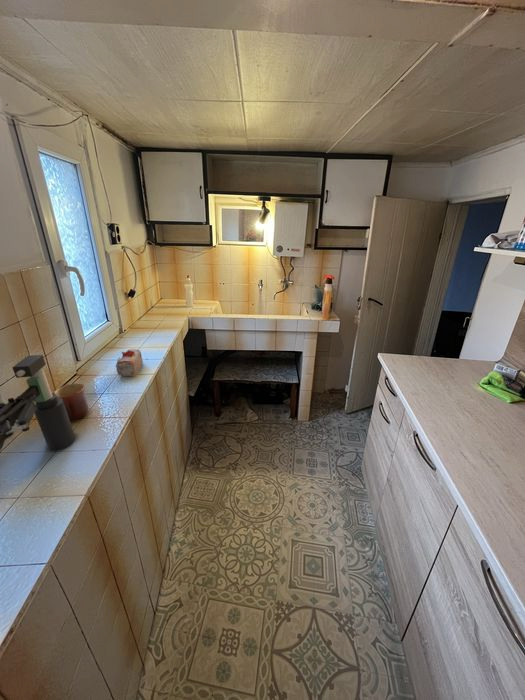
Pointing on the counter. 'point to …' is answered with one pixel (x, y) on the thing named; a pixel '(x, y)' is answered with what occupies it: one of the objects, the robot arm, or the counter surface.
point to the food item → (129, 363)
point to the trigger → (37, 382)
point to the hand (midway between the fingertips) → (35, 390)
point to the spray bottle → (47, 406)
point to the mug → (73, 400)
